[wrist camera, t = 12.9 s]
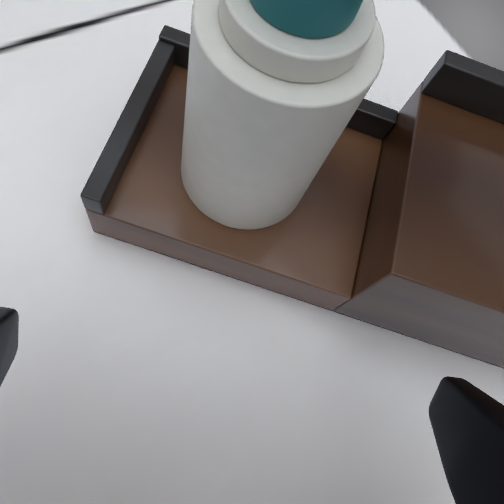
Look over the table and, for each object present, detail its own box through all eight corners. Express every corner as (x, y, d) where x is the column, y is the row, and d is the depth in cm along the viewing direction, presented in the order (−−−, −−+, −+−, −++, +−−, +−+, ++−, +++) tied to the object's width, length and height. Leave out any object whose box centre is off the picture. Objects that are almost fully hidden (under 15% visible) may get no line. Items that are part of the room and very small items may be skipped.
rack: (527, 376, 19) (699, 355, 13) (92, 231, 17) (55, 131, 11) (531, 213, 22) (672, 135, 16) (164, 80, 20) (164, -60, 14)
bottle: (320, 215, 17) (475, 15, 9) (200, 242, 16) (243, 38, 7) (280, 113, 19) (380, -146, 10) (166, 130, 17) (170, -151, 9)
